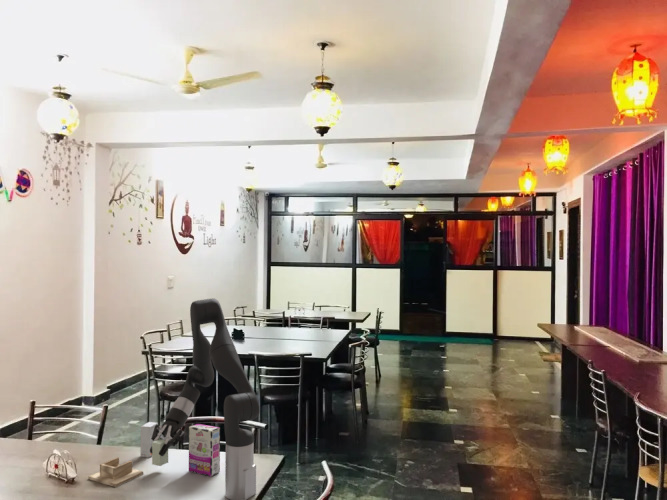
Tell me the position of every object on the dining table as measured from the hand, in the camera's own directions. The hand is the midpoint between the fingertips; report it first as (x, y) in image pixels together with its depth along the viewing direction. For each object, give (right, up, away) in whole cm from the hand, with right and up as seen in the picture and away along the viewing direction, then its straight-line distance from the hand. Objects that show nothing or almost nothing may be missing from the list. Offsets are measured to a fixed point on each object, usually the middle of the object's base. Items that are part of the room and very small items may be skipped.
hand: (156, 453), depth 191 cm
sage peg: (+1, -4, +2) cm, 5 cm away
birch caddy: (-13, -7, -4) cm, 15 cm away
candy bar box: (+17, -7, +1) cm, 19 cm away
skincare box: (-9, -7, +18) cm, 21 cm away
